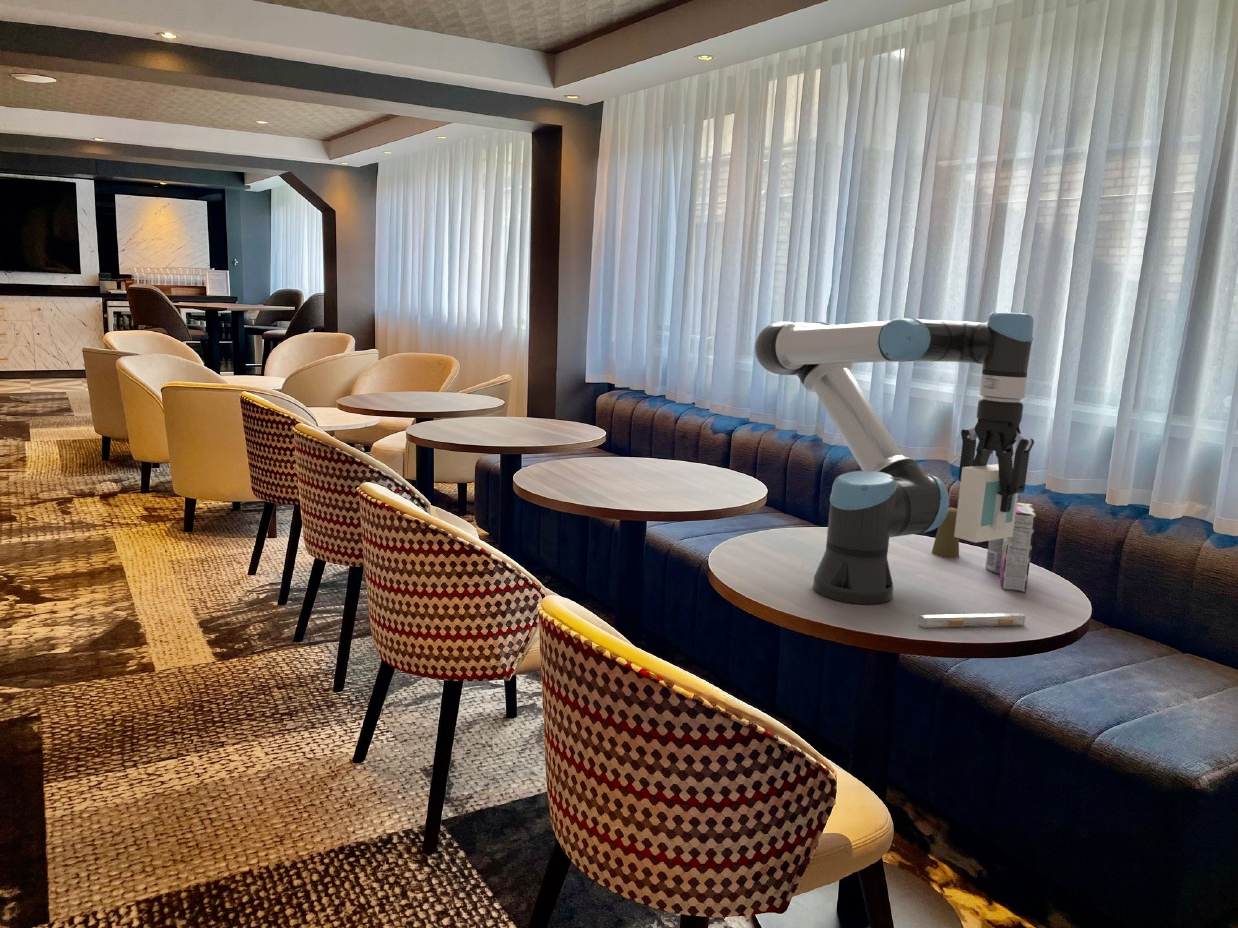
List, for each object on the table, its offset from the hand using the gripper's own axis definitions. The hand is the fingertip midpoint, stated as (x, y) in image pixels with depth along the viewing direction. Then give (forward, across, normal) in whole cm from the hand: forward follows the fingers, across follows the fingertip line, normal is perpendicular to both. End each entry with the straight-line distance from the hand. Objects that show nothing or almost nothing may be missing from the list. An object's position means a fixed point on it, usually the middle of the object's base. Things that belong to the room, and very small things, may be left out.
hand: (985, 524), depth 166 cm
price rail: (+17, +5, -7) cm, 19 cm away
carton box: (+2, 0, 0) cm, 2 cm away
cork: (+17, -29, +30) cm, 45 cm away
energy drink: (+17, -15, +30) cm, 38 cm away
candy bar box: (+17, -8, +24) cm, 30 cm away
